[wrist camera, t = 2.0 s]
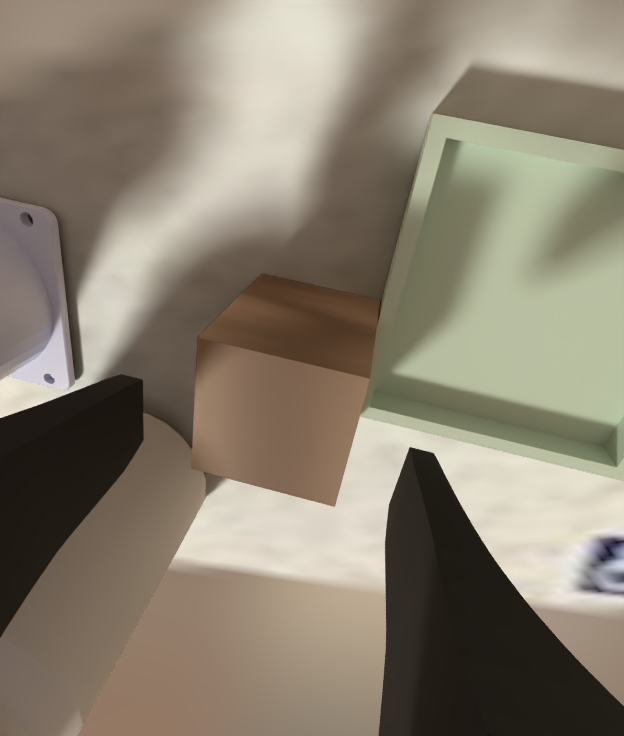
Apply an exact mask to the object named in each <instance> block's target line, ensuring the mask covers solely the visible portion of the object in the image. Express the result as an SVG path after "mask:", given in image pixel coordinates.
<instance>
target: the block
mask: <svg viewBox="0 0 624 736" xmlns="http://www.w3.org/2000/svg"><path fill="white" fill-rule="evenodd" d="M379 306H380V300H377V299H373V298H368V297H364V296H359V295H355V294H350V293H346V292H342V291H337V290H333V289H328V288H324V287H320V286H315V285H311V284H306V283H302V282H297V281H293V280H289V279H284V278H280V277H275V276H271V275H266V274H261V275H260V276H259V277H258V278H257V279H256V280H255V281H254V282H253V283H252V284H251V285H250V286H249V287H248V288H247V289H246V290H245V291H244V292H243V293H242V294H241V295H240V296H239V297H238V298H237V299H236V300H235V301H234V302H233V303H232V304H231V305H230V306H229V307H228V308H227V309H226V310H225V311H224V312H223V313H222V314H221V315H220V316H218V317H217V318H216V319H215V320H214V321H213V322H212V323H211V324H210V325H209V326H208V327H207V328H206V329H205V330H204V331H203V332H202V333H201V334H200V335H199V336H198V337H197V357H196V377H195V398H194V419H193V439H192V460H191V469H194V470H197V471H201V472H205V473H209V474H213V475H216V476H220V477H224V478H228V479H232V480H235V481H239V482H243V483H247V484H251V485H254V486H258V487H262V488H266V489H269V490H273V491H277V492H281V493H285V494H288V495H292V496H296V497H300V498H304V499H307V500H311V501H315V502H319V503H323V504H326V505H330V506H334V507H335V504H336V500H337V497H338V493H339V489H340V486H341V482H342V478H343V475H344V471H345V468H346V464H347V460H348V457H349V453H350V449H351V446H352V442H353V439H354V435H355V431H356V428H357V424H358V420H359V417H360V413H361V410H362V406H363V402H364V399H365V395H366V391H367V388H368V384H369V381H370V375H371V367H372V360H373V352H374V344H375V337H376V329H377V321H378V314H379Z"/></svg>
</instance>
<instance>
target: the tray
mask: <svg viewBox="0 0 624 736" xmlns="http://www.w3.org/2000/svg"><path fill="white" fill-rule="evenodd" d="M360 416H361V417H365V418H369V419H373V420H377V421H381V422H385V423H389V424H393V425H397V426H401V427H405V428H409V429H414V430H418V431H422V432H426V433H430V434H434V435H438V436H442V437H446V438H450V439H454V440H458V441H462V442H466V443H470V444H475V445H479V446H483V447H487V448H491V449H495V450H499V451H503V452H507V453H511V454H515V455H519V456H523V457H527V458H531V459H536V460H540V461H544V462H548V463H552V464H556V465H560V466H564V467H568V468H572V469H576V470H580V471H584V472H588V473H592V474H596V475H601V476H605V477H609V478H613V479H617V480H621V481H624V150H622V149H617V148H612V147H606V146H601V145H596V144H591V143H586V142H580V141H575V140H570V139H565V138H560V137H554V136H549V135H544V134H539V133H534V132H528V131H523V130H518V129H513V128H508V127H502V126H497V125H492V124H487V123H481V122H476V121H471V120H466V119H461V118H455V117H450V116H445V115H440V114H435V113H434V114H432V115H431V116H430V119H429V123H428V127H427V130H426V134H425V138H424V142H423V146H422V149H421V153H420V157H419V161H418V164H417V168H416V172H415V176H414V180H413V183H412V187H411V191H410V195H409V199H408V202H407V206H406V210H405V214H404V218H403V221H402V225H401V229H400V233H399V237H398V240H397V244H396V248H395V252H394V256H393V259H392V263H391V267H390V271H389V275H388V278H387V282H386V286H385V290H384V294H383V297H382V301H381V305H380V309H379V314H378V321H377V329H376V337H375V344H374V352H373V360H372V367H371V375H370V381H369V384H368V388H367V391H366V395H365V399H364V402H363V406H362V410H361V413H360Z"/></svg>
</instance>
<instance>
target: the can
mask: <svg viewBox="0 0 624 736" xmlns="http://www.w3.org/2000/svg"><path fill="white" fill-rule="evenodd" d="M143 426H144V440H143V442H142V444H141V445H140V447H139V449H138V450H137V452H136V454H135V455H134V457H133V459H132V460H131V462H130V463H129V465H128V466H127V468H126V469H125V471H124V472H123V473H122V474H121V476H120V477H119V478H118V479H117V481H116V482H115V483H114V484H113V485H112V487H111V488H110V489H109V490H108V492H107V493H106V494H105V495H104V496H103V498H102V499H101V500H100V501H99V502H98V503H97V505H96V506H95V507H94V508H93V509H92V511H91V512H90V513H89V514H88V515H87V516H86V518H85V519H84V520H83V521H82V522H81V524H80V525H79V526H78V527H77V528H76V530H75V531H74V532H73V533H72V534H71V535H70V537H69V538H68V539H67V540H66V542H65V543H64V544H63V546H62V547H61V548H60V549H59V551H58V552H57V553H56V555H55V556H54V558H53V559H52V560H51V562H50V563H49V565H48V566H47V568H46V569H45V571H44V572H43V574H42V575H41V576H40V578H39V579H38V581H37V582H36V584H35V585H34V587H33V588H32V590H31V591H30V593H29V594H28V596H27V597H26V599H25V600H24V602H23V603H22V605H21V606H20V608H19V610H18V611H17V613H16V614H15V616H14V617H13V619H12V620H11V622H10V623H9V625H8V626H7V628H6V630H5V631H4V633H3V635H2V636H1V638H0V736H77V735H78V734H79V732H80V730H81V728H82V726H83V724H84V722H85V721H86V719H87V717H88V715H89V713H90V711H91V709H92V708H93V706H94V704H95V702H96V700H97V698H98V696H99V695H100V693H101V691H102V689H103V687H104V685H105V683H106V682H107V680H108V678H109V676H110V674H111V672H112V670H113V669H114V667H115V665H116V663H117V661H118V659H119V657H120V656H121V654H122V652H123V650H124V648H125V646H126V645H127V643H128V641H129V639H130V637H131V635H132V633H133V632H134V630H135V628H136V626H137V624H138V622H139V620H140V619H141V617H142V615H143V613H144V611H145V609H146V608H147V606H148V604H149V602H150V600H151V598H152V596H153V594H154V593H155V591H156V589H157V587H158V585H159V583H160V582H161V580H162V578H163V576H164V574H165V572H166V570H167V569H168V567H169V565H170V563H171V561H172V559H173V557H174V556H175V554H176V552H177V550H178V548H179V546H180V544H181V543H182V541H183V539H184V537H185V535H186V533H187V532H188V530H189V528H190V526H191V524H192V522H193V520H194V519H195V517H196V515H197V513H198V511H199V509H200V507H201V505H202V503H203V501H204V500H205V494H206V478H205V475H204V473H203V472H201V471H197V470H194V469H191V460H192V449H191V448H190V447H189V445H188V444H187V442H186V441H185V440H184V438H183V437H182V436H181V435H180V434H179V433H178V432H176V431H175V430H174V429H173V428H172V427H171V426H169V425H168V424H167V423H165V422H163V421H161V420H160V419H158V418H156V417H154V416H152V415H150V414H147V413H144V412H143Z"/></svg>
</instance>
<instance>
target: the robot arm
mask: <svg viewBox="0 0 624 736" xmlns="http://www.w3.org/2000/svg"><path fill="white" fill-rule="evenodd" d="M28 214H30V216H31V217H32V219H33V224H32V223H31V222H30V221H29V218H28ZM51 375H52V376H53V377H54V378H52V377H51ZM7 376H8V377H12V378H16V379H20V380H24V381H28V382H32V383H36V384H39V385H43V386H47V387H51V388H55V389H59V390H68V389H69V388H71V387H72V386H73V385H74V384H75V377H74V367H73V358H72V349H71V340H70V330H69V321H68V312H67V303H66V294H65V284H64V275H63V266H62V257H61V247H60V238H59V229H58V222H57V219H56V217H55V215H54V214H53V213H52V212H51V211H50V210H49V209H47V208H45V207H41V206H36V205H32V204H27V203H23V202H18V201H14V200H9V199H5V198H0V380H2V379H3V378H5V377H7ZM143 440H144V426H143V380H142V379H138V378H134V377H130V376H126V375H122V374H121V375H117V376H114V377H111V378H108V379H106V380H103V381H100V382H98V383H95V384H92V385H90V386H87V387H85V388H82V389H79V390H77V391H74V392H72V393H69V394H66V395H64V396H61V397H59V398H56V399H53V400H51V401H48V402H46V403H43V404H40V405H37V406H34V407H32V408H29V409H26V410H23V411H20V412H17V413H14V414H11V415H8V416H5V417H3V418H0V638H1V636H2V635H3V633H4V631H5V630H6V628H7V626H8V625H9V623H10V622H11V620H12V619H13V617H14V616H15V614H16V613H17V611H18V610H19V608H20V606H21V605H22V603H23V602H24V600H25V599H26V597H27V596H28V594H29V593H30V591H31V590H32V588H33V587H34V585H35V584H36V582H37V581H38V579H39V578H40V576H41V575H42V574H43V572H44V571H45V569H46V568H47V566H48V565H49V563H50V562H51V560H52V559H53V558H54V556H55V555H56V553H57V552H58V551H59V549H60V548H61V547H62V546H63V544H64V543H65V542H66V540H67V539H68V538H69V537H70V535H71V534H72V533H73V532H74V531H75V530H76V528H77V527H78V526H79V525H80V524H81V522H82V521H83V520H84V519H85V518H86V516H87V515H88V514H89V513H90V512H91V511H92V509H93V508H94V507H95V506H96V505H97V503H98V502H99V501H100V500H101V499H102V498H103V496H104V495H105V494H106V493H107V492H108V490H109V489H110V488H111V487H112V485H113V484H114V483H115V482H116V481H117V479H118V478H119V477H120V476H121V474H122V473H123V472H124V471H125V469H126V468H127V466H128V465H129V463H130V462H131V460H132V459H133V457H134V455H135V454H136V452H137V450H138V449H139V447H140V445H141V444H142V442H143ZM385 573H386V654H385V667H384V680H383V692H382V704H381V715H380V727H379V736H624V706H623V705H622V704H621V703H620V702H619V701H618V700H617V699H616V698H615V697H614V696H613V695H611V694H610V693H609V691H607V689H606V688H605V687H604V686H603V685H602V684H600V682H599V681H598V680H597V679H596V678H595V677H594V676H593V675H592V674H591V673H590V672H589V671H588V670H587V669H586V668H585V667H584V666H583V665H582V664H581V663H580V662H579V661H578V660H577V659H576V658H575V657H574V656H573V655H572V653H571V652H570V651H569V650H568V649H567V648H566V647H565V646H564V645H563V644H562V643H561V642H560V641H559V639H558V638H557V637H556V636H555V635H554V634H553V633H552V631H551V630H550V629H549V628H548V627H547V626H546V625H545V623H544V622H543V621H542V620H541V619H540V618H539V616H538V615H537V614H536V613H535V612H534V611H533V609H532V608H531V607H530V606H529V604H528V603H527V602H526V601H525V600H524V598H523V597H522V596H521V595H520V593H519V592H518V591H517V589H516V588H515V587H514V585H513V584H512V583H511V581H510V580H509V579H508V577H507V576H506V575H505V573H504V572H503V571H502V569H501V568H500V567H499V565H498V564H497V562H496V561H495V560H494V558H493V557H492V555H491V554H490V552H489V551H488V549H487V548H486V546H485V544H484V543H483V541H482V540H481V538H480V537H479V535H478V533H477V532H476V530H475V529H474V527H473V525H472V524H471V522H470V520H469V518H468V517H467V515H466V513H465V511H464V510H463V508H462V506H461V504H460V503H459V501H458V499H457V497H456V495H455V493H454V491H453V489H452V488H451V486H450V484H449V482H448V480H447V478H446V476H445V474H444V472H443V470H442V468H441V466H440V464H439V462H438V460H437V458H436V456H435V455H434V453H431V452H427V451H423V450H419V449H415V448H411V447H410V448H409V451H408V453H407V456H406V459H405V462H404V465H403V467H402V470H401V473H400V476H399V479H398V481H397V484H396V487H395V490H394V492H393V495H392V498H391V501H390V504H389V510H388V519H387V528H386V539H385Z"/></svg>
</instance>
